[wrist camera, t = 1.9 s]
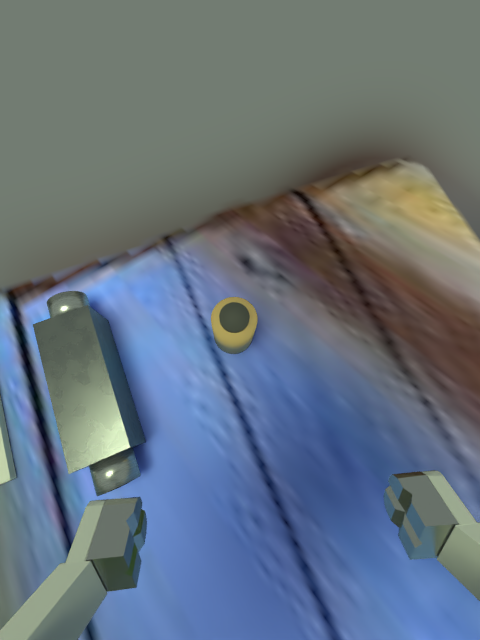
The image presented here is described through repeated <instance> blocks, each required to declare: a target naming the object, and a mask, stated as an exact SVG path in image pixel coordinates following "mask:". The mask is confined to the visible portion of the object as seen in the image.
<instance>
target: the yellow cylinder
mask: <svg viewBox="0 0 480 640" xmlns="http://www.w3.org/2000/svg"><path fill="white" fill-rule="evenodd" d="M211 323H212V328H213V334H214V339H215V342H216V344H217V346H218V347H219V348H220V349H221V350H222V351H224V352H226V353H229V354H238V353H241V352H243V351H244V350H246V349H247V348H248V347H249V345H250V344H251V341H252V338H253V335H254V332H255V329H256V326H257V313H256V311H255V309H254V307H253V306H252V304H250V303H249V302H248V301H247V300H245V299H242V298H239V297H230V298H226V299H224V300H222V301H220V302H219V303H218V304H217V305H216V306H215V308H214V309H213V311H212V315H211Z"/></svg>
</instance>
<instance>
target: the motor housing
mask: <svg viewBox="0 0 480 640" xmlns="http://www.w3.org/2000/svg"><path fill="white" fill-rule="evenodd" d="M47 306H48V310H49V314H50V319H47V320H44V321H41V322H38V323H36V324H33V327H34V331H35V335H36V340H37V344H38V348H39V352H40V356H41V360H42V364H43V369H44V373H45V377H46V381H47V385H48V389H49V393H50V398H51V402H52V406H53V410H54V414H55V418H56V422H57V427H58V431H59V435H60V439H61V443H62V447H63V451H64V456H65V460H66V464H67V468H68V472H69V474H70V473H73V472H75V471H78V470H80V469H83V468H86V467H88V466H89V468H90V472H91V476H92V479H93V483H94V487H95V491H96V495H97V496H99V495H102V494H104V493H107V492H109V491H112V490H114V489H117V488H119V487H121V486H123V485H125V484H127V483H129V482H130V481H132V480H134V479H136V478H137V477H139V476H141V474H140V470H139V467H138V464H137V460H136V457H135V454H134V450H133V447H135V446H137V445H140V444H142V443H144V442H146V440H145V437H144V434H143V430H142V427H141V424H140V421H139V418H138V414H137V411H136V408H135V405H134V402H133V398H132V395H131V392H130V389H129V386H128V382H127V379H126V376H125V373H124V370H123V367H122V363H121V360H120V357H119V354H118V351H117V347H116V344H115V341H114V338H113V335H112V331H111V328H110V325H109V322H108V320H107V319H106V318H104V317H103V316H102V315H100V314H99V313H98V312H96V311H95V310H94V309H92V308H91V307H90V304H89V301H88V297H87V295H86V294H85V293H83V292H78V291H68V292H62V293H59V294H56V295H54V296H52V297H51V298H49V299H48V301H47Z"/></svg>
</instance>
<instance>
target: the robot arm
mask: <svg viewBox="0 0 480 640" xmlns="http://www.w3.org/2000/svg"><path fill="white" fill-rule="evenodd" d="M388 482H389V484H390V486H389V487H388V488H386V489H385V492H384V505H385V508H386V511H387V513H388V516H389V518H390V520H391V521H392V522H393V523H394V524H396V525H397V526H398V527H399V533H398V536H399V538H400V540H401V542H402V545H403V547H404V549H405V551H406V553H407V555H408V557H409V559H424V558H437V560H438V561H439V562H440V563H441V564H442V565H443V566H444V567H445V568H446V569H447V570H448V571H449V572H450V573H451V574H452V575H453V576H454V577H455V578H456V579H457V580H458V581H459V582H461V583H462V584H463V585H464V586H465V587H466V588H467V589H468V590H469V591H470V592H471V593H472V594H473V595H474V596H475V597H476V598H477V599H478V600H479V601H480V523H477V522H476V521H475V519H474V518H473V516H472V515H471V514H470V512H469V511H468V510H467V508H466V507H465V505H464V504H463V503H462V501H461V500H460V498H459V497H458V496H457V494H456V493H455V492H454V490H453V489H452V487H451V486H450V485H449V483H448V482H447V481H446V479H445V478H444V476H443V475H442V474H441V473H440V472H438V471H435V470H433V471H423V472H411V473H402V474H392V475H391V476H389V479H388ZM141 508H142V500H141V498H140V497H132V498H121V499H110V500H109V499H106V500H96V501H90V502H89V504H88V505H87V507H86V508H85V511H84V514H83V517H82V519H81V522H80V525H79V527H78V530H77V533H76V536H75V538H74V541H73V544H72V546H71V549H70V552H69V555H68V557H67V560H66V563H61V564H59V566H58V567H57V568H56V569H55V570H54V571H53V572H52V573H51V574H50V576H49V577H48V578H47V579H46V580H45V581H44V582H43V583H42V584H41V586H40V587H39V588H38V589H37V590H36V591H35V592H34V593H33V595H32V596H31V597H30V598H29V599H28V600H27V601H26V602H25V603H24V605H23V606H22V607H21V608H20V609H19V610H18V611H17V612H16V614H15V615H14V616H13V617H12V618H11V619H10V620H9V621H8V622H7V624H6V625H5V626H4V627H3V628H2V629H1V630H0V640H78V638H79V637H80V635H81V634H82V632H83V630H84V629H85V627H86V626H87V624H88V623H89V621H90V620H91V618H92V617H93V615H94V613H95V612H96V610H97V609H98V607H99V606H100V604H101V603H102V601H103V600H104V598H105V596H106V595H107V591H115V590H122V589H130V588H137V582H138V577H139V571H140V566H141V558H140V555H139V551H140V549H141V548H142V547H143V545H144V544H145V538H146V529H147V518H146V513H145V511H144V510H142V509H141Z"/></svg>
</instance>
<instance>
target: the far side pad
mask: <svg viewBox="0 0 480 640" xmlns="http://www.w3.org/2000/svg"><path fill="white" fill-rule="evenodd" d="M15 478H17V477H16V472H15V467H14V462H13V457H12V452H11V447H10V442H9V437H8V432H7V427H6V422H5V417H4V411H3V406H2V401H1V396H0V485H1V484H3V483H6V482H8V481H11V480H13V479H15Z"/></svg>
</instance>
